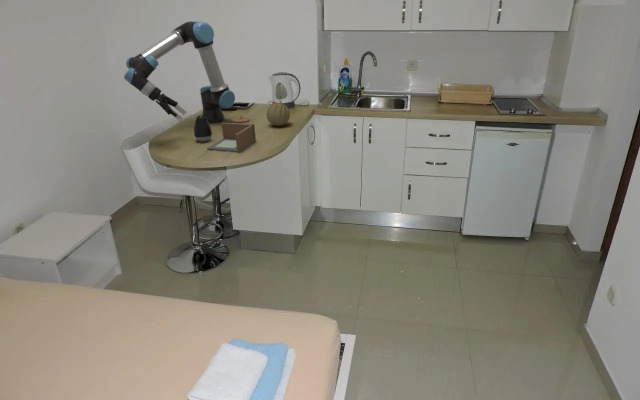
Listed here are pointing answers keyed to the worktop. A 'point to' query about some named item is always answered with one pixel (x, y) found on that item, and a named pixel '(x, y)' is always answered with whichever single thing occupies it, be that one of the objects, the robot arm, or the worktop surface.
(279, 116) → the cantaloupe
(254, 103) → the worktop surface
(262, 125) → the worktop surface
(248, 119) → the lidded jar
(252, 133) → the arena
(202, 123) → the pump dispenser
